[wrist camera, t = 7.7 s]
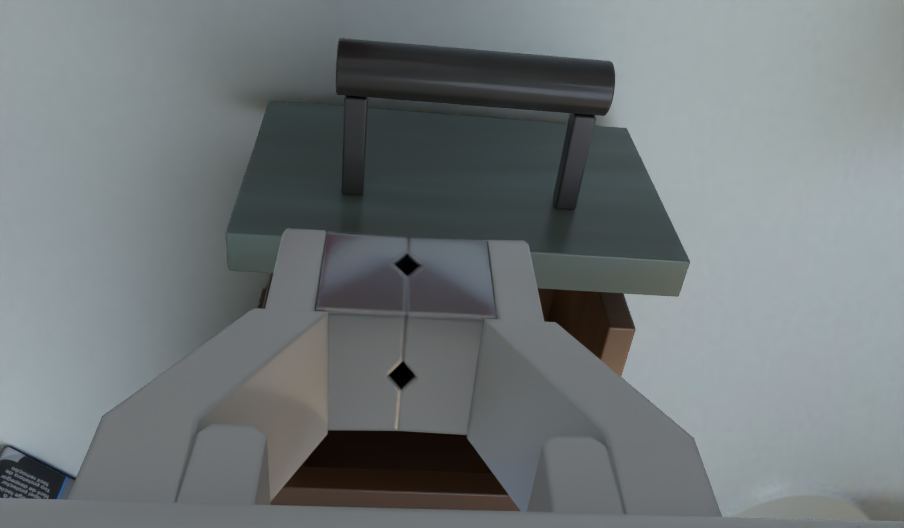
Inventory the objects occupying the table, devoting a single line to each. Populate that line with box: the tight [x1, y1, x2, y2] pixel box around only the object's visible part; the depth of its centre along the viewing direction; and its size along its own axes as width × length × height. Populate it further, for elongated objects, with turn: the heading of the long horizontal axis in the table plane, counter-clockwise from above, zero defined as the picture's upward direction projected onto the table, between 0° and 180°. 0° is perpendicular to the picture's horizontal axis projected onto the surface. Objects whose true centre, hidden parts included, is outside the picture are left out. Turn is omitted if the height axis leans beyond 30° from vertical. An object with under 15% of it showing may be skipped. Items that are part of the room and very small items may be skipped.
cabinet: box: [258, 289, 520, 511], centre depth 34 cm, size 16×13×10 cm
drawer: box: [226, 38, 690, 473], centre depth 27 cm, size 19×12×8 cm, turn 174°
